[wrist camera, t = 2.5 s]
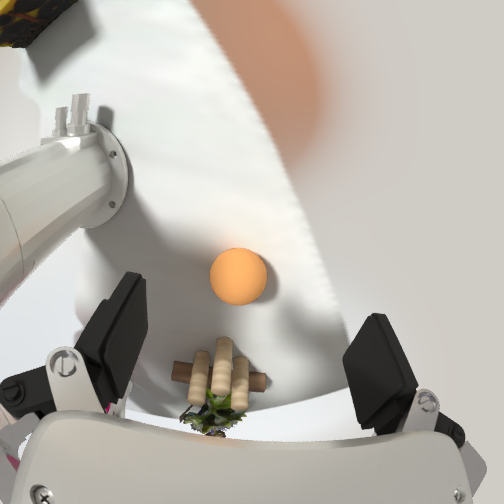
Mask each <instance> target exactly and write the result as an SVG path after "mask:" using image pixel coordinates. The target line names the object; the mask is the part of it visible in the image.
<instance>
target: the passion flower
mask: <svg viewBox="0 0 504 504" xmlns="http://www.w3.org/2000/svg"><path fill="white" fill-rule="evenodd" d="M231 393H232V390H231V389H230V393H229V394H228V395H225V396H219V395H217V396H216V397H213V393H212V392H211V390H210V389H209V388H208V387H206V395H205V403H206V404H204V405H203V406H202V408H201V410H200V411H199V412H198V413H197V414H196V413H193V412H189V413H188V414H185V413H186V412H188V411H189V410H190V408H191V407H192V406H193V405H192V404H191V406H190V407H189V408H188V409H187V410H186V411H185V412H184V413H183V414H182V415H181V416H180V417H179V418H180V423H181V422H182V420H183V419H184V422H183V423H184V424H187V423H192V424H191V427H192V428H191V429H194V430H197V431H200V432H201V433H203V434H205V433H207V434H205V435H206V436H213V437H221V438H225V437H226V436H225V432H223V431H221V430H223V429H224V430H225V428H227V429H230V427H233V424H236V423H238V422H237V421H242V419H241V417H246V415H245V414H244V413H245V412H246V411H247V410H244V411H238V412H235V411H236V410H233V409H232V408H231ZM206 400H207V401H206ZM234 412H235V413H234ZM184 414H185V415H184ZM210 431H211V432H210ZM219 433H220V434H219Z"/></svg>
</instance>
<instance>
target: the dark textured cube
mask: <svg viewBox="0 0 504 504" xmlns="http://www.w3.org/2000/svg"><path fill="white" fill-rule="evenodd" d="M76 1H77V0H0V47H6V46H9V47H12V48H26V47H27V46H28V45H29V44H31V42H32V41H33V40H34V39H35V38H37V36H38V35H39V34H40V33H41V32H42V31H43V30H44V29H45V28H46V27H47V26H48V25H49V24H51V23H52V22H53V21H54V20H55V19H56V18H57V17H58V16H59V15H60V14H61V13H62V12H64V11H65V10H66V9H67V8H69V7H70V6H71V5H72V4H73V3H75V2H76Z"/></svg>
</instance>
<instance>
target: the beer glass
mask: <svg viewBox="0 0 504 504" xmlns="http://www.w3.org/2000/svg"><path fill="white" fill-rule="evenodd" d="M132 388H133V383H132V381H131V380H129V383H128V386H127V389H126V392H125V395H124V398H123V399H119V400H118V403H117V405H116V404H113V403H109V406H108V408H106V412H107V414H109V415H114V416H118V417H122V418H125V407H126V401H127V398H128V395H129V393H130V391H131V390H132Z"/></svg>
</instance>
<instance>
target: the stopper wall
mask: <svg viewBox="0 0 504 504" xmlns="http://www.w3.org/2000/svg"><path fill="white" fill-rule="evenodd" d="M192 369H193V364H188V363H182V362H177V361H175V362H174V366H173V370H172V375H171V378H172V381H178V382H183V383H189V384H190V380H191V374H192ZM232 374H233V370H231V384H230V389H231V390H232ZM212 375H213V367H209V371H208V379H207V386H208V387H211V384H212ZM265 389H266V376H265V373H256V372H249V389H248V391H251V392H264V391H265Z"/></svg>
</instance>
